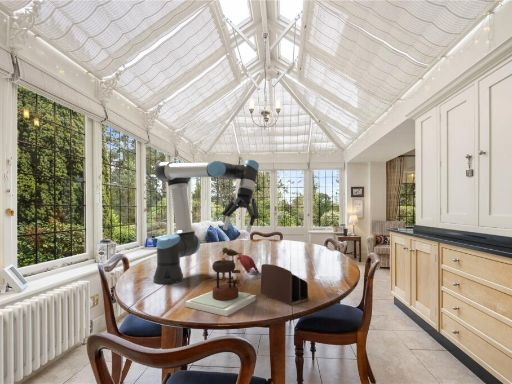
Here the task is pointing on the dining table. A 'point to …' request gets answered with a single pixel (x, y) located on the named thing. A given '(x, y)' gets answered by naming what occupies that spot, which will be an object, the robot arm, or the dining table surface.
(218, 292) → the music box
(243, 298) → the display stand
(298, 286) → the letter holder
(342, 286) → the dining table surface
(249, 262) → the red winged figure
